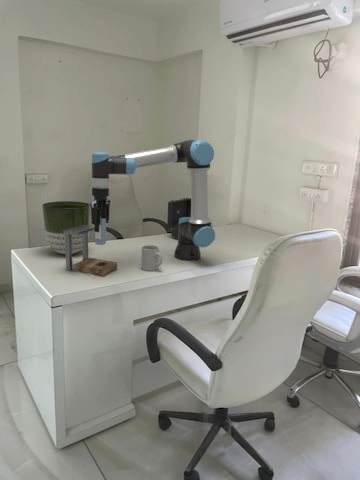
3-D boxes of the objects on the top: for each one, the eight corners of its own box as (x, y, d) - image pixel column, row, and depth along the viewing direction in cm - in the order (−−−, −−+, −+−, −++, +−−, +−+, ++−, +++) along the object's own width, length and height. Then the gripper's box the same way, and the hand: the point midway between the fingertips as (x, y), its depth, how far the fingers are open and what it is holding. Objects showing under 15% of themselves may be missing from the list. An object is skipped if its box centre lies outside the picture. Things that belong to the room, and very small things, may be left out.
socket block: (116, 270, 180) (116, 262, 179) (103, 277, 169) (103, 269, 168) (89, 265, 185) (89, 257, 184) (74, 272, 174) (74, 264, 173)
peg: (105, 243, 174) (105, 218, 171) (101, 245, 170) (101, 219, 167) (99, 242, 175) (99, 217, 172) (95, 244, 172) (95, 218, 169)
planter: (99, 253, 204) (99, 205, 198) (59, 262, 187) (57, 210, 180) (75, 244, 220) (74, 200, 214) (36, 251, 203) (33, 203, 196)
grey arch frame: (98, 265, 186) (97, 226, 181) (79, 274, 171) (77, 232, 166) (84, 262, 189) (84, 224, 183) (64, 272, 174) (63, 230, 169)
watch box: (202, 242, 239) (204, 205, 233) (166, 235, 253) (167, 200, 247) (219, 235, 261) (221, 201, 255) (185, 229, 275) (186, 196, 269)
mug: (137, 268, 184) (138, 247, 181) (149, 264, 190) (150, 244, 188) (154, 274, 177) (155, 252, 174) (166, 270, 183) (167, 249, 180)
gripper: (103, 185, 175) (103, 233, 181) (82, 188, 160) (83, 240, 166) (117, 186, 172) (116, 235, 178) (97, 189, 157) (97, 242, 163)
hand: (100, 237), depth 172 cm, fingers closed on peg, 3 cm apart
